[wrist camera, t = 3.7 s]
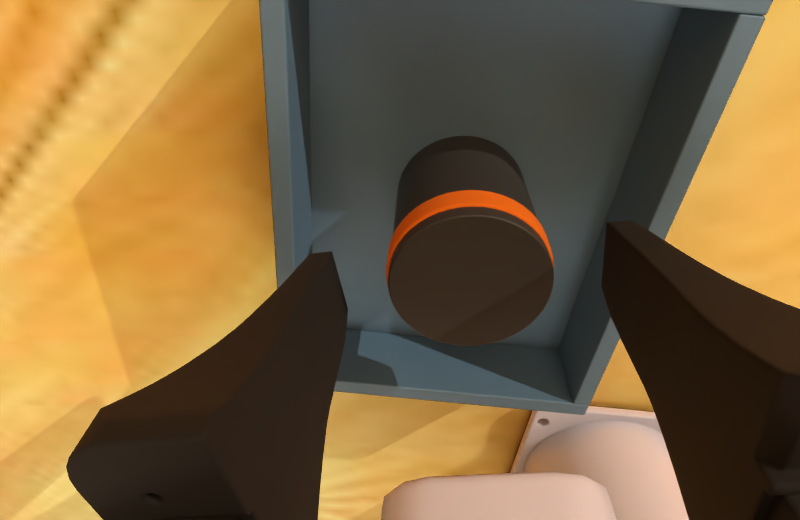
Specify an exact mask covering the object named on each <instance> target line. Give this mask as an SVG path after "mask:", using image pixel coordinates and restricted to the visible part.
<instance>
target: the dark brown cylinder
mask: <svg viewBox="0 0 800 520" xmlns="http://www.w3.org/2000/svg"><path fill="white" fill-rule="evenodd" d="M386 279H387V285H388V289H389V295H390V298H391V301H392V303H393V305H394V307H395V309H396V311H397V312H398V314H399V315H400V317H401V318H402V319H403V320H404V321H405V322H406V323H407V324H408V325H409V326H410V327H411V328H413V329H414V330H415V331H417V332H419V333H420V334H422V335H424V336H426V337H428V338H430V339H433V340H436V341H438V342H442V343H446V344H452V345H461V346H475V345H484V344H489V343H493V342H497V341H500V340H503V339H506V338H508V337H510V336H513V335H515V334H516V333H518V332H520V331H521V330H523V329H524V328H526V327H527V326H528V325H530V324H531V323H532V322H533V321H534V320H535V319H536V318H537V317H538V316H539V315H540V313H541V312H542V311H543V309H544V308H545V306H546V304H547V303H548V300H549V298H550V296H551V293H552V289H553V284H554V261H553V255H552V251H551V247H550V245H549V242H548V239H547V236H546V234H545V231H544V229H543V227H542V225H541V224H540V222H539V221H538V219H537V216H536V214H535V211H534V208H533V205H532V202H531V199H530V196H529V193H528V190H527V187H526V184H525V181H524V178H523V175H522V172H521V170H520V168H519V166H518V164H517V163H516V161H515V160H514V158H513V157H512V156H511V155H510V154H509V153H508V152H507V151H506V150H505V149H503V148H502V147H500V146H499V145H497V144H496V143H493V142H491V141H489V140H486V139H483V138H480V137H474V136H453V137H449V138H444V139H441V140H438V141H436V142H434V143H432V144H430V145H428V146H426V147H425V148H423V149H422V150H420V151H419V152H418V153H417V154H416V155H415V156H414V157H413V158H412V159H411V160H410V161H409V163H408V164H407V166H406V167H405V169H404V171H403V173H402V175H401V178H400V181H399V186H398V193H397V202H396V211H395V220H394V229H393V236H392V239H391V242H390V245H389V250H388V256H387V264H386Z"/></svg>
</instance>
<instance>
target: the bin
mask: <svg viewBox="0 0 800 520" xmlns="http://www.w3.org/2000/svg"><path fill="white" fill-rule="evenodd" d="M772 2H773V0H259V7H260V22H261V38H262V54H263V70H264V86H265V102H266V118H267V133H268V149H269V165H270V181H271V197H272V213H273V229H274V244H275V260H276V276H277V289H278V288H279V287H280V286H281V285H282V284H283V283H284V281H285V280H286V279H287V278H288V277H289V276H290V275H291V274H292V273H293V272H294V271H295V269H296V268H297V267H298V266H299V265H300V264H301V263H302V262H303V261H304V260H305V259H306V258H307V257H308V256H309V255H310V254H312V253H321V252H331V251H332V253H333V256H334V260H335V264H336V267H337V271H338V275H339V278H340V282H341V285H342V289H343V293H344V296H345V300H346V303H347V307H348V316H347V329H346V339H345V344H344V349H343V353H342V358H341V362H340V366H339V371H338V375H337V379H336V383H335V388H334V391H337V392H348V393H358V394H369V395H379V396H389V397H400V398H410V399H420V400H431V401H441V402H451V403H462V404H472V405H483V406H493V407H503V408H514V409H524V410H534V411H545V412H555V413H566V414H576V415H585V413H586V411H587V409H588V406H589V404H590V402H591V400H592V398H593V396H594V394H595V391H596V389H597V387H598V385H599V383H600V380H601V378H602V376H603V374H604V372H605V369H606V367H607V365H608V363H609V361H610V358H611V356H612V354H613V352H614V350H615V348H616V345H617V343H618V341H619V339H620V336H619V334H618V331H617V329H616V327H615V325H614V323H613V321H612V319H611V316H610V313H609V310H608V307H607V303H606V300H605V297H604V293H603V290H602V287H601V283H602V271H603V259H604V246H605V234H606V222H615V221H624V220H633V221H635V222H636V223H638V224H640V225H641V226H643V227H644V228H646V229H647V230H649V231H650V232H652V233H654V234H655V235H657V236H658V237H660V238H661V239H663V240H665V238H666V235H667V233H668V231H669V229H670V227H671V224H672V222H673V220H674V218H675V216H676V214H677V211H678V209H679V207H680V205H681V203H682V200H683V198H684V196H685V194H686V192H687V189H688V187H689V185H690V183H691V181H692V178H693V176H694V174H695V172H696V170H697V167H698V165H699V163H700V161H701V159H702V156H703V154H704V152H705V150H706V148H707V145H708V143H709V141H710V139H711V137H712V134H713V132H714V130H715V128H716V126H717V123H718V121H719V119H720V117H721V115H722V112H723V110H724V108H725V106H726V104H727V101H728V99H729V97H730V95H731V93H732V91H733V88H734V86H735V84H736V82H737V80H738V77H739V75H740V73H741V71H742V69H743V66H744V64H745V62H746V60H747V58H748V55H749V53H750V51H751V49H752V47H753V44H754V42H755V40H756V38H757V36H758V33H759V31H760V29H761V27H762V25H763V22H764V20H765V17H764V16H763V15H766V14H767V13H768V10H769V8H770V6H771V4H772ZM453 136H474V137H480V138H483V139H486V140H489V141H491V142H493V143H496V144H497V145H499V146H500V147H502V148H503V149H505V150H506V151H507V152H508V153H509V154H510V155H511V156H512V157H513V158H514V160H515V161H516V163H517V164H518V166H519V168H520V170H521V172H522V175H523V178H524V181H525V184H526V187H527V190H528V193H529V196H530V199H531V202H532V205H533V208H534V211H535V214H536V216H537V219H538V221H539V222H540V224H541V225H542V227H543V229H544V231H545V234H546V236H547V239H548V242H549V245H550V247H551V251H552V255H553V261H554V284H553V289H552V293H551V296H550V298H549V300H548V303H547V304H546V306H545V308H544V309H543V311H542V312H541V313H540V315H539V316H538V317H537V318H536V319H535V320H534V321H533V322H532V323H531V324H530V325H528V326H527V327H526V328H524V329H523V330H521V331H520V332H518V333H516V334H515V335H513V336H510V337H508V338H506V339H503V340H500V341H497V342H493V343H489V344H484V345H475V346H461V345H452V344H446V343H442V342H438V341H436V340H433V339H430V338H428V337H426V336H424V335H422V334H420V333H419V332H417V331H415V330H414V329H413V328H411V327H410V326H409V325H408V324H407V323H406V322H405V321H404V320H403V319H402V318H401V317H400V315H399V314H398V312H397V311H396V309H395V307H394V305H393V303H392V301H391V298H390V295H389V289H388V285H387V279H386V264H387V256H388V250H389V245H390V242H391V239H392V236H393V229H394V220H395V211H396V202H397V193H398V186H399V181H400V178H401V175H402V173H403V171H404V169H405V167H406V166H407V164H408V163H409V161H410V160H411V159H412V158H413V157H414V156H415V155H416V154H417V153H418V152H419V151H420V150H422V149H423V148H425V147H426V146H428V145H430V144H432V143H434V142H436V141H438V140H441V139H444V138H449V137H453Z"/></svg>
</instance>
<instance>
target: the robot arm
mask: <svg viewBox="0 0 800 520" xmlns="http://www.w3.org/2000/svg"><path fill="white" fill-rule="evenodd" d="M601 287H602V290H603V293H604V297H605V300H606V303H607V307H608V310H609V313H610V316H611V319H612V321H613V323H614V325H615V327H616V329H617V331H618V334H619V336H620V338H621V340H622V342H623V344H624V346H625V348H626V350H627V352H628V354H629V356H630V358H631V361H632V363H633V365H634V367H635V369H636V371H637V373H638V375H639V377H640V379H641V381H642V383H643V385H644V387H645V390H646V392H647V394H648V397H649V399H650V401H651V404H652V407H653V409H654V412H649V411H638V410H628V409H618V408H607V407H597V406H588V409H587V411H586V413H585V415H576V414H566V413H555V412H545V411H534V410H533V411H532V414H531V416H530V419H529V422H528V425H527V427H526V430H525V433H524V436H523V438H522V441H521V444H520V447H519V450H518V452H517V455H516V458H515V461H514V463H513V466H512V469H511V472H510V473H499V474H478V475H456V476H435V477H425V478H420V479H416V480H411V481H406V482H404V483H402V484H401V485H399V486H398V487H397V488H395V489H394V490H393V491H391V492H390V493H388V494H387V495H386V496H384V501H383V507H382V516H381V520H800V309H798V308H795V307H793V306H790V305H787V304H785V303H782V302H780V301H777V300H775V299H772V298H770V297H767V296H765V295H763V294H761V293H758V292H756V291H754V290H752V289H750V288H747V287H745V286H743V285H741V284H739V283H737V282H735V281H733V280H731V279H729V278H727V277H725V276H723V275H721V274H719V273H718V272H716V271H714V270H712V269H710V268H708V267H706V266H705V265H703V264H701V263H700V262H698V261H696V260H694V259H693V258H691V257H690V256H688V255H686V254H685V253H683V252H681V251H680V250H678V249H677V248H675V247H673V246H672V245H670V244H669V243H667V242H666V241H664V240H663V239H661V238H660V237H658V236H657V235H655V234H654V233H652V232H650V231H649V230H647V229H646V228H644V227H643V226H641V225H640V224H638V223H636V222H635V221H633V220H624V221H615V222H606V234H605V246H604V259H603V271H602V283H601ZM347 316H348V307H347V303H346V300H345V296H344V293H343V289H342V285H341V282H340V278H339V275H338V271H337V267H336V264H335V260H334V256H333V253H332V251H331V252H321V253H312V254H310V255H309V256H308V257H307V258H306V259H305V260H304V261H303V262H302V263H301V264H300V265H299V266H298V267H297V268H296V269H295V271H294V272H293V273H292V274H291V275H290V276H289V277H288V278H287V279H286V280H285V281H284V283H283V284H282V285H281V286H280V287H279V288H278V289H277V290H276V291H275V292H274V293H273V294H272V295H271V296H270V297H269V298H268V299H267V300H266V301H265V302H264V303H263V304H262V305H261V306H260V307H259V308H258V309H257V310H256V311H255V312H254V313H253V314H252V315H250V316H249V317H248V318H247V319H246V320H245V321H244V322H243V323H242V324H240V325H239V326H238V327H237V328H236V329H235V330H233V331H232V332H231V333H229V334H228V335H227V336H226V337H224V338H223V339H222V340H221V341H219V342H218V343H217V344H215V345H214V346H212V347H211V348H209V349H208V350H206V351H205V352H204V353H202V354H201V355H199V356H198V357H196V358H195V359H193V360H192V361H190V362H189V363H187V364H186V365H184V366H182V367H181V368H179V369H177V370H176V371H174V372H172V373H171V374H169V375H167V376H165V377H164V378H162V379H160V380H158V381H156V382H155V383H153V384H151V385H149V386H147V387H145V388H143V389H141V390H139V391H137V392H135V393H133V394H131V395H129V396H127V397H125V398H123V399H120V400H118V401H116V402H114V403H112V404H110V405H108V406H105V407H103V408H101V409H100V411H99V412H98V414H97V415H96V417H95V418H94V420H93V421H92V423H91V424H90V426H89V427H88V429H87V431H86V432H85V434H84V435H83V437H82V438H81V440H80V441H79V443H78V444H77V446H76V447H75V449H74V451H73V452H72V454H71V455H70V457H69V459H68V463H67V466H66V468H67V472H68V476H69V479H70V481H71V482H72V484H73V485H74V487H75V488H76V490H77V491H78V492H79V493H80V494H81V495H82V496H83V498H84V499H85V500H86V501H87V502H88V503H89V504H90V505H91V506H92V508H93V509H94V510H95V511H96V512H97V513H98V514H99V515H100V517H101V518H102V519H103V520H317V519H318V506H319V493H320V482H321V472H322V461H323V452H324V443H325V435H326V427H327V420H328V415H329V409H330V405H331V400H332V396H333V392H334V388H335V383H336V379H337V375H338V371H339V366H340V362H341V358H342V353H343V349H344V344H345V339H346V329H347Z"/></svg>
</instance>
